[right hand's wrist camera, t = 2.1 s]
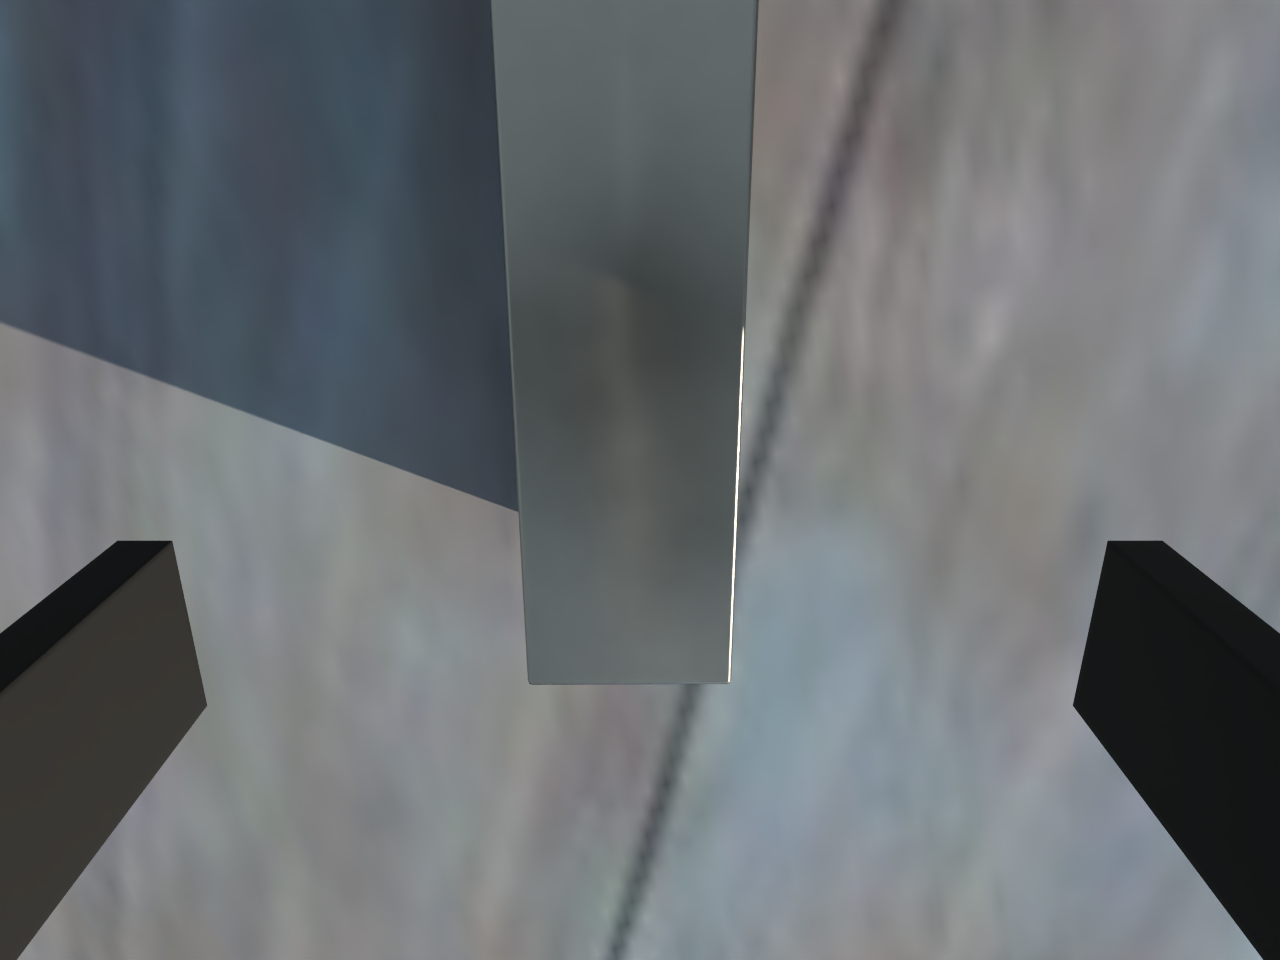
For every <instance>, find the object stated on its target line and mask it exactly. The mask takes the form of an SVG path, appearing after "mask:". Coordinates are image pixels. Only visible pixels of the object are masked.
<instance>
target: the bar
mask: <svg viewBox="0 0 1280 960" xmlns="http://www.w3.org/2000/svg"><path fill="white" fill-rule="evenodd" d="M758 2H759V0H490V13H491V30H492V48H493V66H494V84H495V102H496V119H497V137H498V155H499V173H500V191H501V208H502V226H503V244H504V262H505V280H506V297H507V315H508V333H509V351H510V369H511V386H512V404H513V422H514V440H515V458H516V475H517V493H518V511H519V529H520V547H521V565H522V582H523V600H524V618H525V636H526V654H527V671H528V681H529V684H532V685H546V684H728V683H730V681H731V667H732V642H733V617H734V593H735V568H736V544H737V519H738V494H739V470H740V445H741V420H742V396H743V371H744V346H745V322H746V297H747V273H748V248H749V223H750V199H751V174H752V149H753V125H754V100H755V76H756V51H757V26H758Z"/></svg>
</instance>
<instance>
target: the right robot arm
mask: <svg viewBox="0 0 1280 960" xmlns="http://www.w3.org/2000/svg"><path fill="white" fill-rule="evenodd" d="M206 706H207V703H206V698H205V693H204V689H203V684H202V679H201V675H200V670H199V665H198V660H197V656H196V651H195V646H194V641H193V637H192V632H191V627H190V623H189V618H188V613H187V608H186V604H185V599H184V594H183V590H182V585H181V580H180V575H179V571H178V566H177V561H176V557H175V552H174V547H173V542H172V541H117V542H115V543H114V544H113V545H112V546H110V547H109V548H108V549H107V550H105V551H104V552H103V553H102V554H100V555H99V556H98V557H96V558H95V559H94V560H93V561H91V562H90V563H89V564H88V565H86V566H85V567H84V568H83V569H81V570H80V571H79V572H78V573H76V574H75V575H74V576H72V577H71V578H70V579H69V580H67V581H66V582H65V583H64V584H62V585H61V586H60V587H59V588H57V589H56V590H55V591H53V592H52V593H51V594H50V595H48V596H47V597H46V598H45V599H43V600H42V601H41V602H40V603H38V604H37V605H36V606H35V607H33V608H32V609H31V610H29V611H28V612H27V613H26V614H24V615H23V616H22V617H21V618H19V619H18V620H17V621H16V622H14V623H13V624H12V625H11V626H9V627H8V628H7V629H5V630H4V631H3V632H2V633H0V960H17V959H18V957H19V956H20V955H21V953H22V952H23V951H24V949H25V948H26V947H27V945H28V944H29V942H30V941H31V940H32V938H33V937H34V936H35V934H36V933H37V932H38V930H39V929H40V928H41V926H42V925H43V924H44V922H45V921H46V920H47V918H48V917H49V916H50V914H51V913H52V912H53V910H54V909H55V908H56V906H57V905H58V904H59V902H60V901H61V900H62V898H63V897H64V896H65V894H66V893H67V892H68V890H69V889H70V888H71V886H72V885H73V884H74V882H75V881H76V880H77V878H78V877H79V876H80V874H81V873H82V872H83V870H84V869H85V868H86V866H87V865H88V864H89V862H90V861H91V860H92V858H93V857H94V856H95V854H96V853H97V852H98V850H99V849H100V848H101V846H102V845H103V844H104V842H105V841H106V840H107V838H108V837H109V836H110V834H111V833H112V832H113V830H114V829H115V828H116V826H117V825H118V824H119V822H120V821H121V820H122V818H123V817H124V816H125V814H126V813H127V812H128V810H129V809H130V808H131V806H132V805H133V804H134V802H135V801H136V800H137V798H138V797H139V796H140V794H141V793H142V792H143V790H144V789H145V788H146V786H147V785H148V784H149V782H150V781H151V780H152V778H153V777H154V776H155V774H156V773H157V772H158V770H159V769H160V768H161V766H162V765H163V764H164V762H165V761H166V760H167V758H168V757H169V756H170V754H171V753H172V752H173V750H174V749H175V748H176V746H177V745H178V744H179V742H180V741H181V740H182V738H183V737H184V736H185V734H186V733H187V732H188V730H189V729H190V728H191V726H192V725H193V724H194V722H195V721H196V720H197V718H198V717H199V716H200V714H201V713H202V712H203V710H204V709H205V708H206ZM1073 706H1074V708H1075V709H1076V710H1077V712H1078V713H1079V714H1080V716H1081V717H1082V718H1083V720H1084V721H1085V722H1086V724H1087V725H1088V726H1089V728H1090V729H1091V730H1092V732H1093V733H1094V734H1095V736H1096V737H1097V738H1098V740H1099V741H1100V742H1101V744H1102V745H1103V746H1104V748H1105V749H1106V750H1107V752H1108V753H1109V754H1110V756H1111V757H1112V758H1113V760H1114V761H1115V762H1116V764H1117V765H1118V766H1119V768H1120V769H1121V770H1122V772H1123V773H1124V774H1125V776H1126V777H1127V778H1128V780H1129V781H1130V782H1131V784H1132V785H1133V786H1134V788H1135V789H1136V790H1137V792H1138V793H1139V794H1140V796H1141V797H1142V798H1143V800H1144V801H1145V802H1146V804H1147V805H1148V806H1149V808H1150V809H1151V810H1152V812H1153V813H1154V814H1155V816H1156V817H1157V818H1158V820H1159V821H1160V822H1161V824H1162V825H1163V826H1164V828H1165V829H1166V830H1167V832H1168V833H1169V834H1170V836H1171V837H1172V838H1173V840H1174V841H1175V842H1176V844H1177V845H1178V846H1179V848H1180V849H1181V850H1182V852H1183V853H1184V854H1185V856H1186V857H1187V858H1188V860H1189V861H1190V862H1191V864H1192V865H1193V866H1194V868H1195V869H1196V870H1197V872H1198V873H1199V874H1200V876H1201V877H1202V878H1203V880H1204V881H1205V882H1206V884H1207V885H1208V886H1209V888H1210V889H1211V890H1212V892H1213V893H1214V894H1215V896H1216V897H1217V898H1218V900H1219V901H1220V902H1221V904H1222V905H1223V906H1224V908H1225V909H1226V910H1227V912H1228V913H1229V914H1230V916H1231V917H1232V918H1233V920H1234V921H1235V922H1236V924H1237V925H1238V926H1239V928H1240V929H1241V930H1242V932H1243V933H1244V934H1245V936H1246V937H1247V938H1248V940H1249V941H1250V943H1251V944H1252V945H1253V947H1254V948H1255V949H1256V951H1257V952H1258V953H1259V955H1260V956H1261V957H1262V959H1263V960H1280V633H1278V632H1277V631H1276V630H1275V629H1273V628H1272V627H1271V626H1269V625H1268V624H1267V623H1266V622H1264V621H1263V620H1262V619H1261V618H1259V617H1258V616H1257V615H1256V614H1254V613H1253V612H1252V611H1251V610H1249V609H1248V608H1247V607H1245V606H1244V605H1243V604H1242V603H1240V602H1239V601H1238V600H1237V599H1235V598H1234V597H1233V596H1232V595H1230V594H1229V593H1228V592H1227V591H1225V590H1224V589H1223V588H1221V587H1220V586H1219V585H1218V584H1216V583H1215V582H1214V581H1213V580H1211V579H1210V578H1209V577H1208V576H1206V575H1205V574H1204V573H1202V572H1201V571H1200V570H1199V569H1197V568H1196V567H1195V566H1194V565H1192V564H1191V563H1190V562H1189V561H1187V560H1186V559H1185V558H1184V557H1182V556H1181V555H1180V554H1178V553H1177V552H1176V551H1175V550H1173V549H1172V548H1171V547H1170V546H1168V545H1167V544H1166V543H1165V542H1163V541H1108V542H1107V547H1106V552H1105V557H1104V561H1103V566H1102V571H1101V575H1100V580H1099V585H1098V590H1097V594H1096V599H1095V604H1094V608H1093V613H1092V618H1091V623H1090V627H1089V632H1088V637H1087V641H1086V646H1085V651H1084V656H1083V660H1082V665H1081V670H1080V675H1079V679H1078V684H1077V689H1076V693H1075V698H1074V703H1073Z"/></svg>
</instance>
